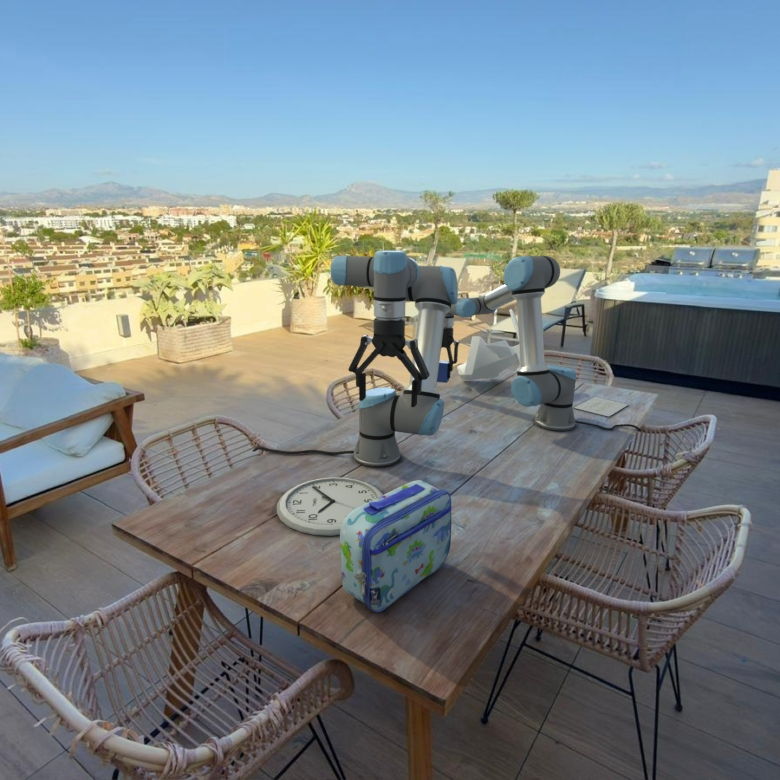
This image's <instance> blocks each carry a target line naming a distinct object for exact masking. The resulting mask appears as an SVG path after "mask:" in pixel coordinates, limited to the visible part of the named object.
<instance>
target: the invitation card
mask: <svg viewBox="0 0 780 780" xmlns="http://www.w3.org/2000/svg"><path fill="white" fill-rule="evenodd" d="M628 406H629V404H627V403H623V402H618V401H614V400H609V399H605V398H601V397H596V396H593V397H592V398H590V399H588V400H586V401H584V402H582V403H580V404H578V405H575V406H574V407H573V409H575V410H581V411H584V412H587V413H593V414H596V415H600V416H604V417H608V418H609V417H611V416H613V415H614V414H616V413H617V412H619V411H621V410H623V409H624V408H626V407H628Z"/></svg>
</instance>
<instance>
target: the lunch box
mask: <svg viewBox="0 0 780 780" xmlns="http://www.w3.org/2000/svg"><path fill="white" fill-rule="evenodd" d="M383 494H384V495H382V496H380V497H378V498H376V499H374V500H372V501H370V502H368V503H366V504H364V505H362V506H360V507H358V508H356V509H354V510H353V511H351V512H350V513H349V514H348V515H347V516H346V518H345V519H344V521H343V523H342V526H341V530H340V535H339V551H340V574H341V576H340V577H341V585H342V588H343V589H342V590H343V591H344V593H346V594H348V595H350V596H352V597H353V598H355V599H357V600H358V601H359V602H361V603H362V604H364V605H365V606H366V608H367V609H369V610H370V611H371V612H374V613H381V612H384V611H385V610H386V609H387V608H389V607H390V606H391V605H392V604H393V603H395V602H396V601H397V600H399V599H400V598H401V597H402V596H404V595H405V594H407V593H408V592H410V591H411V590H412V589H413V588H415V587H416V586H417V585H418V584H419V583H420V582H421V581H423V580H425V579H426V578H427V577H429V576H430V575H432V574H434V573H435V572H436V571H438V570H439V569H440V568H441V567H442V566H443V565H444V563H445V562H446V560H447V558H448V556H449V553H450V550H451V549H450V548H451V545H452V543H451V542H452V497H451V494H450V492H449V491H448V490H446V489H438V488H437V487H435V486H434V485H431V484H429V483H427V482H426V481H424V480H421V479H416V480H413V481H410V482H408V483H405V484H403V485H401V486H399V487H397V488H394V489H393V490H390V491H388V492H387V493H383Z"/></svg>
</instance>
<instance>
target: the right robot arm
mask: <svg viewBox="0 0 780 780" xmlns="http://www.w3.org/2000/svg"><path fill="white" fill-rule="evenodd" d="M560 266H561V265H559V262H558V261H557V260H556V259H555V258H553V257H551V256H550V255H549V256H548V255H522V256H517V257H514V258H512V259H510V260H509V262H508V264H507V265H506V266H505V268H504V271H503V282H504V284H503V285H501V286H499V287H497V288H496V289H493V290H492V291H490V292H488V293H486V294H484V295H482V296H477V297H464V298H463V297H461V298H460V297H458V299H457V303H456V304H454V305H451V310H450V311H449V312H448V313H447V314H446V315H445V321H444V329H443V337H442V345H441V349H443V348H444V349H446V353H447V357H448V361H449V364H448V377H447V379H449V380H450V378H451V372H453V371H454V365H455V364H457V363H458V358H459V357H458V356H459V345H460V341H459V340H455V338H454V326H455V325H454V323H455V316H456V317H460V318H465V319H467V318H471V317H472V316H480V315H491V314H494V313H495V312H496V311H497V310H498V309H499V308H502V307H503V306H505V305H507V304H509V303H512V302H514V301H516V315H517V316H516V317H517V322H518V331H519V340H518V344H519V346H520V361H521V366H520V365H519V367H518V368H517V369H516V377H515V378H514V379H513V381H512V382H511V385H510V386H511V387H510V388H511V393H512V397H513V398H514V399H515V401H516V402H517V403H518V404H519V405H521V406H522V407H527V408H528V407H529V408H530V407H537V406H539V407H538V410H537V411H536V413H535V416H534V424H535V425H536V426H537V427H539V428H542V429H544V430H549V431H556V432H567V431H572V430H574V429H575V428H576V424H578V425H579V424H580V425H585V426H591V427H596V428H599V429H602V430H604V431H613V430H614V429H615V428H621V427H631V428H634V429H636V430H637V431H642V429H641V428H640V427H638V426H637V425H635V424H631V423H624V424H623V423H621V424H620V423H619V424H615V425H613V426H612V427H605V426H602V425H599V424H596V423H591V422H586V421H579V420H576V418H575V417H576V416H575V413H574V407H573V405H574V398H575V390H576V383H577V372H576V371H575V369H572V368H571V367H570V368H569V367H566V366H561V365H554V364H553V365H552V364H546V360H545V359H546V358H545V344H544V325H543V312H542V297H543V296H544V295H545V293H546V289H549V288H550V287H552V286H554V285H555V284H556V283H557V282H558V281H559V279H560V276H561V267H560ZM452 344H453V346H454V348H453V353H452ZM452 354H453V355H452Z"/></svg>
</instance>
